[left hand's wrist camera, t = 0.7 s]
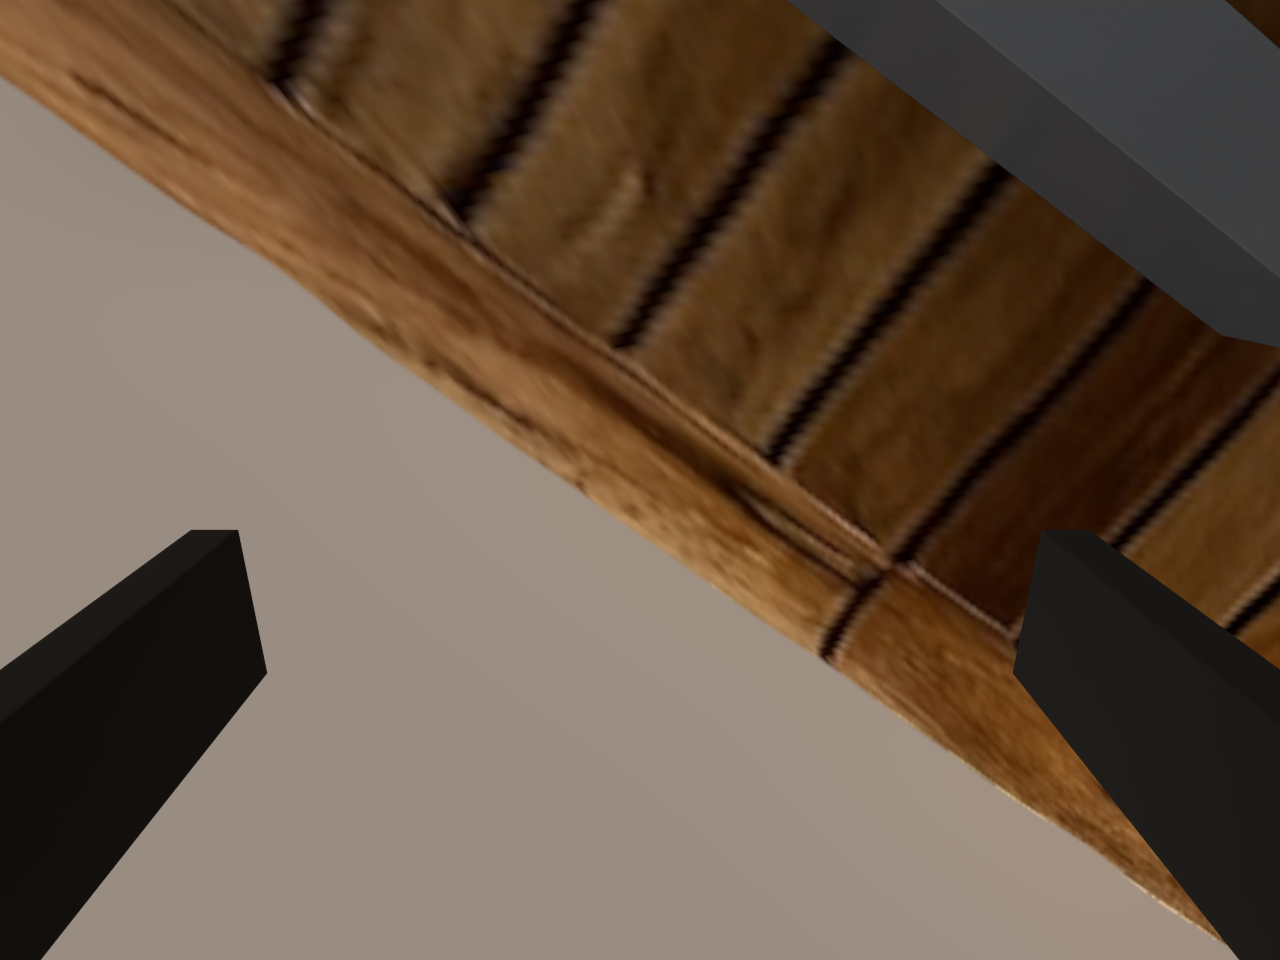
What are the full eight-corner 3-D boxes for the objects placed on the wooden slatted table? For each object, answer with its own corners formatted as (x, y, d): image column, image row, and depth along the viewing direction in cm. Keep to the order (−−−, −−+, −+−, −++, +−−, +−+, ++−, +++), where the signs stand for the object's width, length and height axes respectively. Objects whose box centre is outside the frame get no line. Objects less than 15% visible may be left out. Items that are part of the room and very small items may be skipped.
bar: (763, -18, 29) (810, -101, 21) (836, -140, 28) (915, -278, 20) (1220, 335, 34) (1397, 372, 26) (1301, 244, 32) (1512, 254, 24)
